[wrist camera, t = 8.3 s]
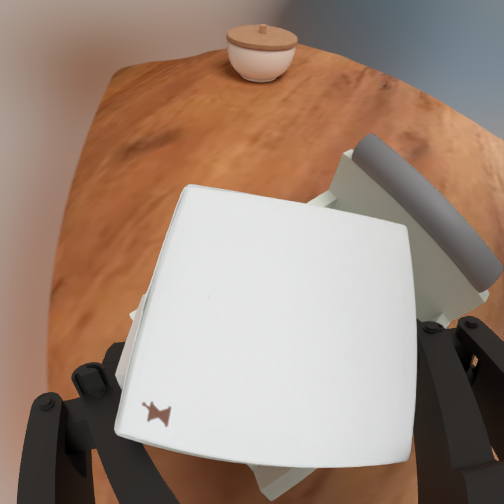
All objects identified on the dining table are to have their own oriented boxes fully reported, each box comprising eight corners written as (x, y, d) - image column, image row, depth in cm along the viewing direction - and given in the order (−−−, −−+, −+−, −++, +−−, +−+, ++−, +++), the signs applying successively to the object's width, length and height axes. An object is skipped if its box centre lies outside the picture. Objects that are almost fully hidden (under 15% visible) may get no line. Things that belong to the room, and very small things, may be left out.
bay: (323, 221, 28) (367, 121, 17) (420, 329, 23) (515, 271, 13) (151, 335, 22) (85, 268, 11) (261, 478, 17) (293, 548, 6)
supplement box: (300, 435, 16) (413, 472, 5) (183, 416, 16) (99, 435, 5) (315, 328, 19) (414, 221, 8) (206, 309, 20) (180, 175, 9)
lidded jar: (213, 80, 40) (213, 28, 32) (241, 58, 45) (244, 13, 37) (279, 95, 39) (287, 40, 31) (298, 71, 44) (306, 25, 36)
